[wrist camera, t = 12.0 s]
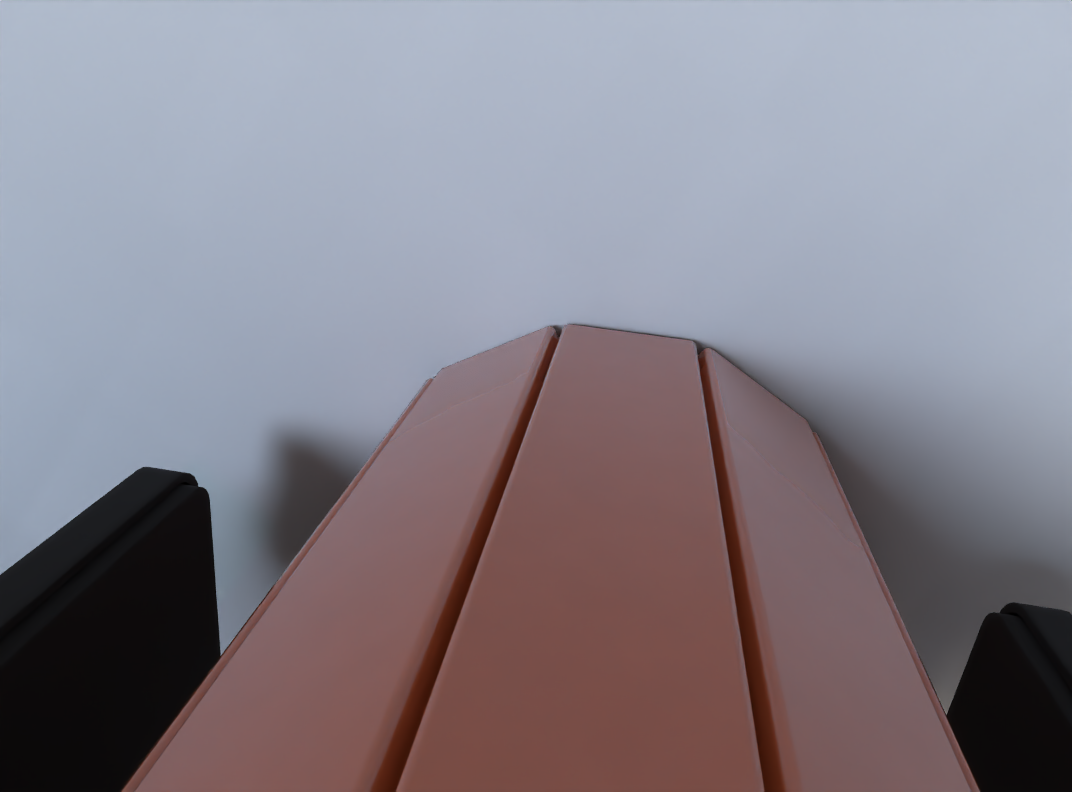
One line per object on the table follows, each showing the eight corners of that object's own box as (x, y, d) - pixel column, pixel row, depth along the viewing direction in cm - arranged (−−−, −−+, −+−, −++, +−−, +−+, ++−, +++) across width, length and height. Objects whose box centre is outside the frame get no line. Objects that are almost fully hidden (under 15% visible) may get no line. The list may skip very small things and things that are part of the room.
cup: (362, 700, 13) (6, 1458, 6) (369, 295, 10) (-262, 780, 3) (786, 776, 12) (967, 1733, 5) (907, 368, 9) (1601, 1165, 3)
